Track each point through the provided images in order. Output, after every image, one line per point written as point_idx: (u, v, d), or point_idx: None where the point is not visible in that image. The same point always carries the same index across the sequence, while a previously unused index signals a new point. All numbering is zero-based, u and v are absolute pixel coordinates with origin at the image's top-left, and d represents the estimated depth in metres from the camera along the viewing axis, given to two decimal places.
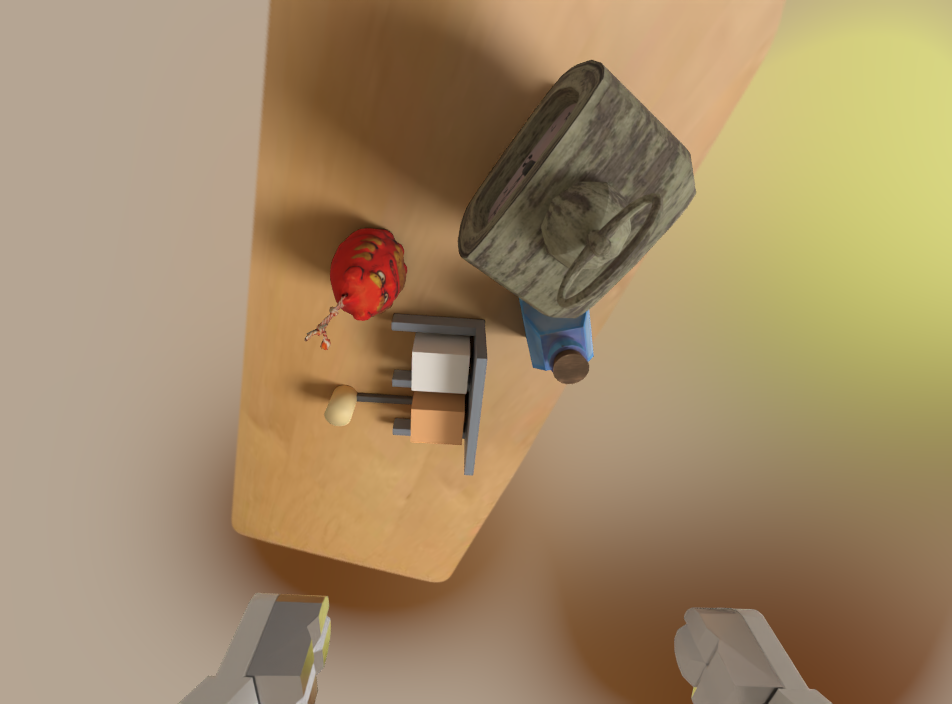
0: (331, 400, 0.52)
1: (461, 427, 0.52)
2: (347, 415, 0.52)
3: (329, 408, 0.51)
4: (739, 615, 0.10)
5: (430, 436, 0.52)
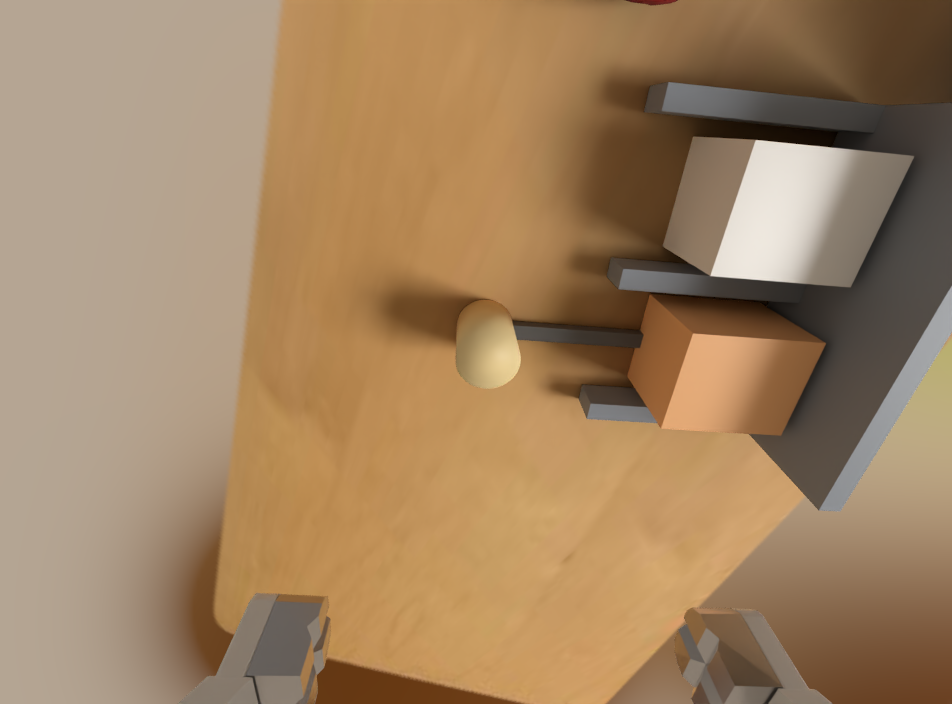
0: (468, 324, 0.21)
1: (800, 387, 0.21)
2: (513, 358, 0.21)
3: (471, 338, 0.20)
4: (739, 615, 0.10)
5: (714, 412, 0.21)
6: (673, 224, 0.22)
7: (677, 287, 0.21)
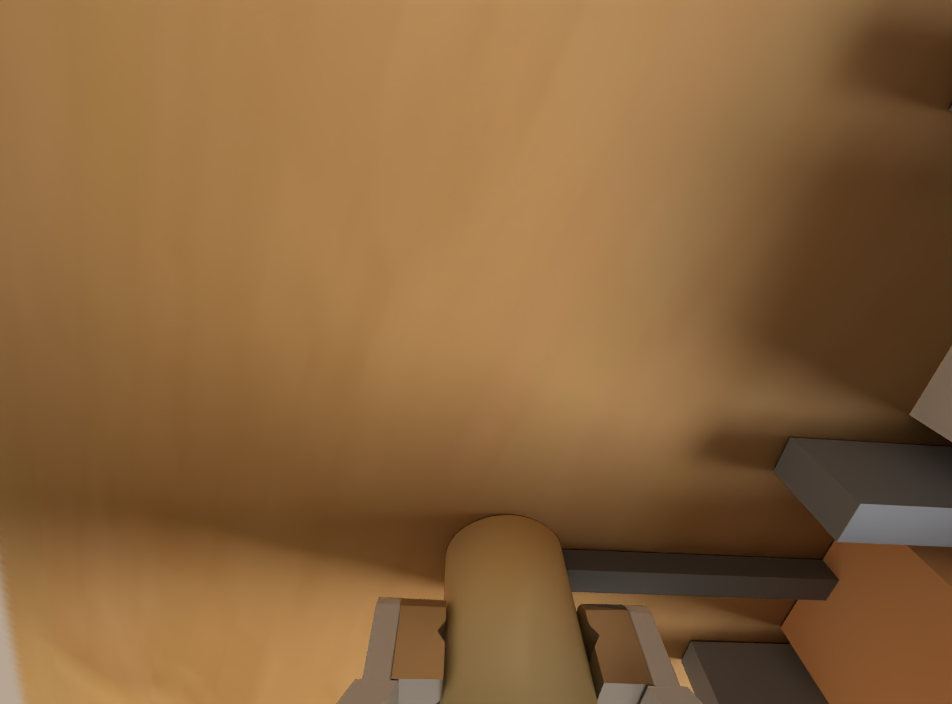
0: (471, 630, 0.09)
1: None
2: None
3: None
4: (626, 612, 0.10)
5: None
6: None
7: None
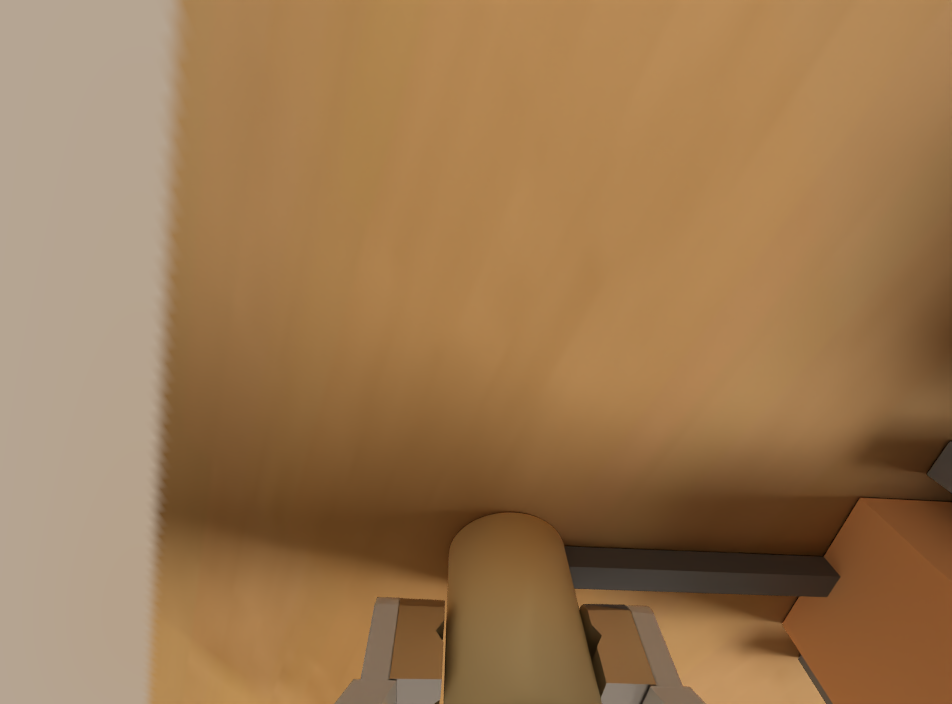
0: (475, 626, 0.09)
1: None
2: None
3: None
4: (628, 612, 0.10)
5: None
6: None
7: None
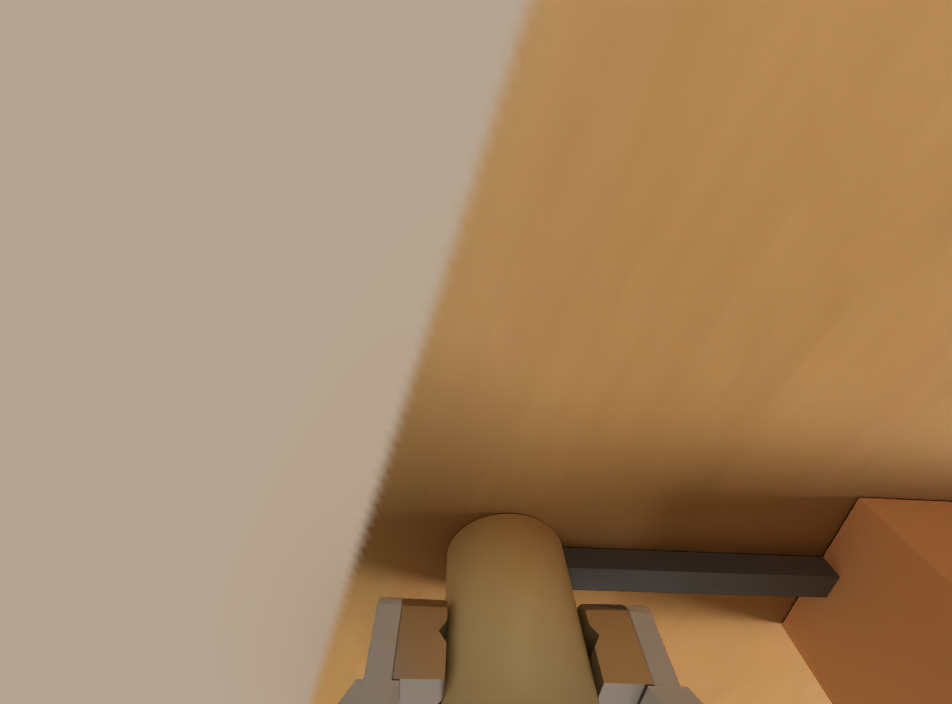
0: (472, 628, 0.09)
1: None
2: None
3: None
4: (625, 612, 0.10)
5: None
6: None
7: None
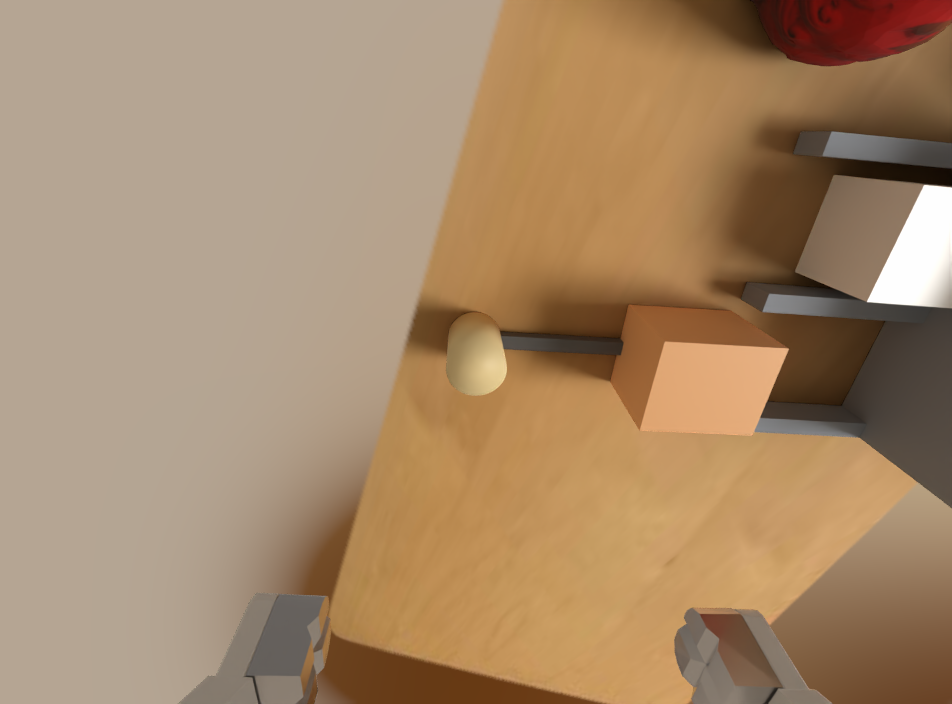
0: (458, 336, 0.23)
1: (767, 390, 0.22)
2: (500, 367, 0.22)
3: (460, 349, 0.22)
4: (739, 615, 0.10)
5: (689, 414, 0.23)
6: (809, 252, 0.24)
7: (815, 309, 0.24)
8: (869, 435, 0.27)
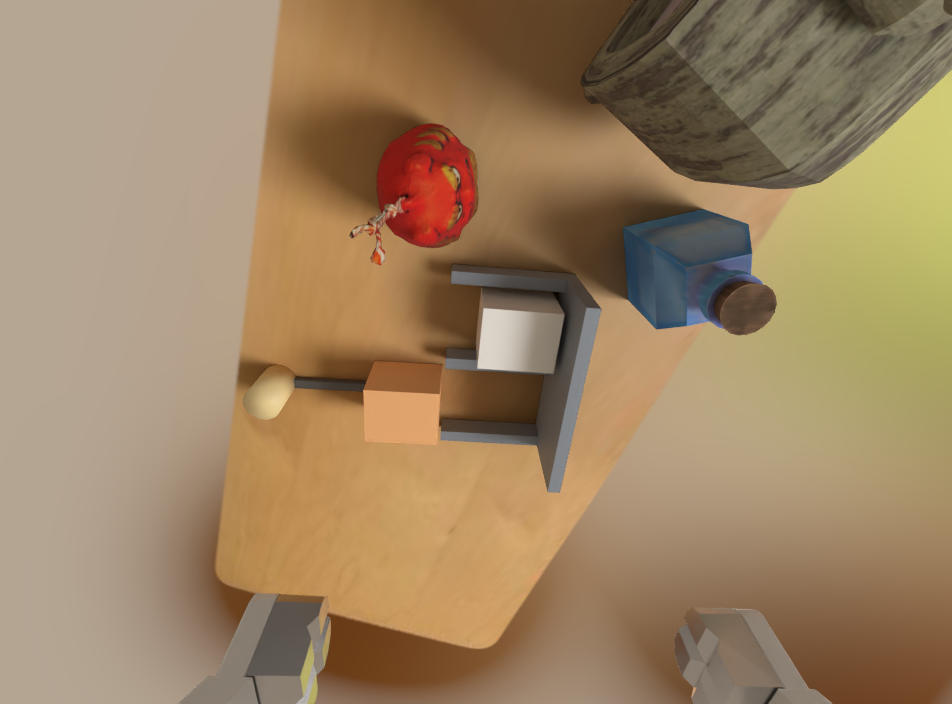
0: None
1: (436, 417, 0.37)
2: (276, 402, 0.37)
3: (249, 392, 0.36)
4: (739, 615, 0.10)
5: (392, 432, 0.37)
6: (477, 331, 0.38)
7: None
8: (538, 444, 0.41)
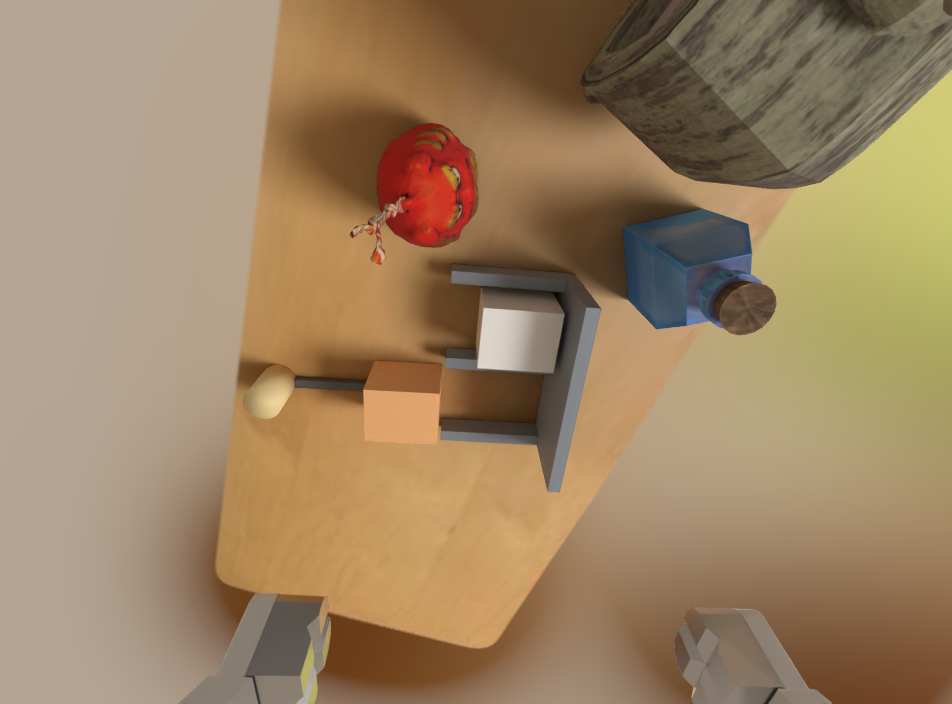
0: (255, 382, 0.38)
1: (435, 417, 0.37)
2: (276, 402, 0.37)
3: (249, 391, 0.36)
4: (739, 615, 0.10)
5: (392, 431, 0.37)
6: (477, 331, 0.38)
7: None
8: (538, 444, 0.41)
